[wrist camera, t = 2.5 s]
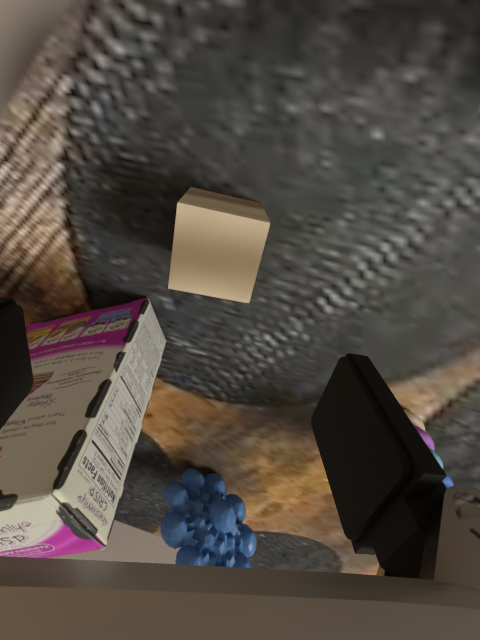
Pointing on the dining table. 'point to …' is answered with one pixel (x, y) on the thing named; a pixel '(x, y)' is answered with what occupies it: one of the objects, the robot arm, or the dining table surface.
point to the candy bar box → (76, 429)
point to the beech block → (217, 245)
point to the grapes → (206, 522)
